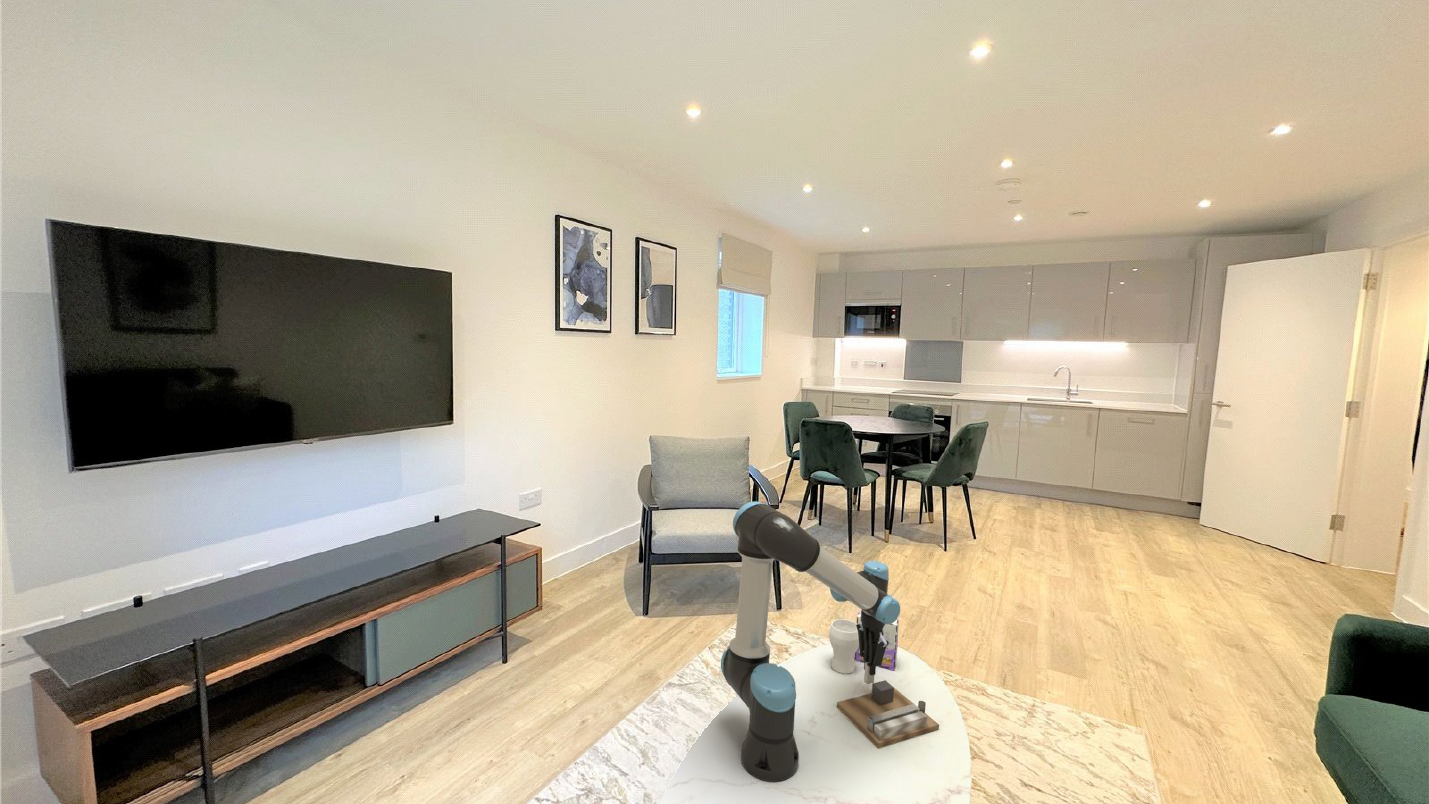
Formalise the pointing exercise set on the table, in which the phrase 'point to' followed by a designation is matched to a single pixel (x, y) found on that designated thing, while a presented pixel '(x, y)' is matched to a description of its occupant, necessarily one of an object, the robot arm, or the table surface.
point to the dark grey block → (882, 692)
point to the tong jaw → (890, 715)
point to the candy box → (891, 650)
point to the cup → (843, 644)
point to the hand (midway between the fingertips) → (868, 682)
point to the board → (874, 708)
